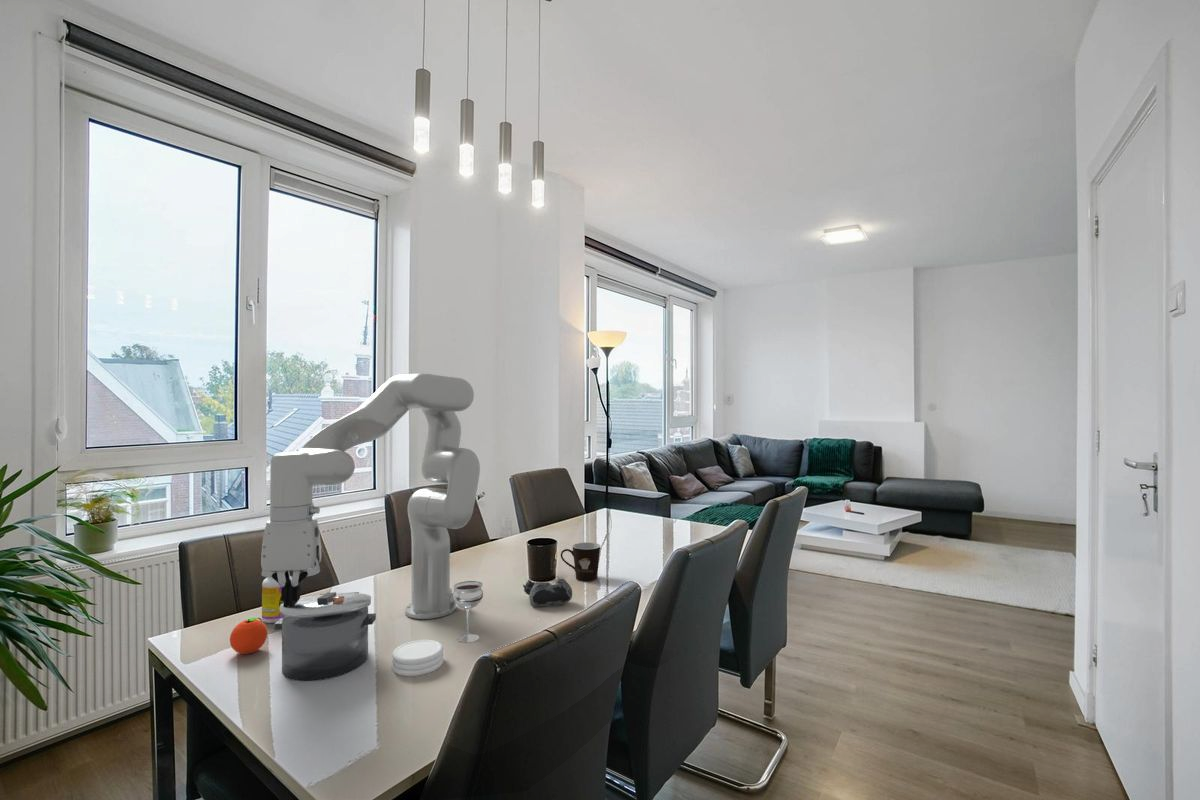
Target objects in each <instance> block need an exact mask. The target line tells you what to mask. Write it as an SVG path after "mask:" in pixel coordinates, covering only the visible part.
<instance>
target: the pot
mask: <svg viewBox="0 0 1200 800" xmlns="http://www.w3.org/2000/svg"><path fill="white" fill-rule="evenodd" d="M376 616H377V613H376V612H375V613H369V606H367V607H365V608H363V609H360V610H356V611H352V612H348V613H343V614H337V615H329V616H320V617H288V616H284V618H281V619H280V620H278V621H277V622H276V623H274V630H275V631H276V630H277V631H279V630H280V631H281V673H282V675H283V676H284V677H285V678H287V679H290V680H293V681H299V682H312V681H313V682H315V681H322V680H328V679H333V678H337V677H340V676H343V675H346V674H349V673H350V672H353V671H354V670H356V669H358V668H360V667H361V666H363V665H364V664H365V663H366V662H367V660H368V658H369V625H370V626H371V625H373V624H374V622H375V621H376V619H377V617H376Z"/></svg>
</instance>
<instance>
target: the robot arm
mask: <svg viewBox="0 0 1200 800" xmlns="http://www.w3.org/2000/svg"><path fill="white" fill-rule="evenodd" d="M474 397H475V393H474V389H473V387H472V385H471V383H469V382H468V381H467V380H466V379H464V378H461V377H453V376H447V375H446V376H444V375H438V374H431V373H424V372H423V373H419V372H418V373H402V374H401V373H400V374H396V375H394V376H392V377H390V378H389V379H387V381H385V382H384V383H383V384H382V385H381V386H380V387H379V388H378V389H377V390H376V391H375V392H374V393H373V394H372V395H371V396H370V397H369V398H368V399H366V400H365V401H364V402H363V403H362V404H361V405H360V406H359V407H358V408H356V409H354V411H352V412H350V413H348V414H346V415H344V416H342V417H341V418H339V419H338V420H336V421H334V422H332V423H330V424H329V425H327V426H325V427H324V428H322V429H321V430H319V431H318V432H317V433H315V434H314V435H313V436H312V437H311V438H310V439H309V440H307V441H306V442H305V443H304V444H303V445H302V446H301V447H300V448H299V449H298V451H287V452H286V451H284V452H277V453H275V454H273V455H272V457H271V458H270V471H269V472H270V481H269V489H270V490H269V491H270V493H269V501H270V502H269V520H267V521H266V524H265V528H264V532H263V537H262V543H261V554H260V555H261V557H260V558H261V559H260V564H261V565H260V566H261V576H262V577H264V578H267V577H269V578H273V579H274V580H275V581H276V582H278V583H279V586H280V587H281V601H283V606H284V607H287V606H289V607H292V606H294V605H295V604H296V603H297V602H298V600H299V599H300V598H301V583H302V582H303V581H304V580H305V579H306V578H308V577H311V576H315V575H318V574H319V573H320V572H321V569H320V568H321V567H320V563H321V561H322V544H321V534H320V532H321V531H320V528H319V527H320V526H319V522H318V518H317V517H314V516H315V515H317V514H319V513H320V509H321V508H320V507H319V506H315V505H314V503H313V490H314V489H313V487H314V486H317V485H319V486H321V485H322V486H323V485H324V486H335V485H336V486H337V485H340V484H343V483H345V482H346V481H348V480H349V479H350V478H352V475H353V474H354V472H355V468H356V464H355V461H354V458H353V457H352V456H351V455H350V454H349V453H348V452H347V450H349V449H351V448H354V447H356V446H359V445H362V444H365V443H369V442H372V441H374V440H377V439H380V438H382V437H384V436H385V435H387V433H389V431H390V430H391V429H392V428H393V427H394V426H395V425H396V424H397V423H398V422H399V421H400V420H401V418H403V417H404V416H405V414H407V413H408V411H410V410H412V409H421V411H422V412H423V414H424V416H425V418H426V421H427V426H428V428H427V429H428V431H427V437H426V441H425V446H424V447H425V448H424V451H423V458H422V463H421V474H422V476H423V478H424V479H425V480H426V481H428V482H431V483H434V484H435V483H436V484H444V485H445V484H446V485H447V489H445V488H438V487H423V488H419V489H418V490H417V489H416V491H415V492H414V493H412V494H411V495H410V497H409V499H408V503H407V516H408V517H407V518H408V521H409V526H410V534H411V602H410V603H409V604H408V605H407V606H406V607H405V608H404V613H405V615H406V616H407V617H408V618H411V619H417V620H429V619H432V620H433V619H438V618H443V617H445V616H448V615H450V614H452V613H454V611H455V610H456V609H457V604H456V603H455V602H454V600H453V589H452V588H451V578H450V577H451V572H450V571H451V569H450V568H451V558H450V557H451V556H450V555H451V540H450V535H449V530H448V529H450V530H452V529H453V530H458V529H461V528H464V527H465V526H466V525H467V524H469V521H470V520H471V518H472V515H473V512H474V507H475V503H476V497H477V492H478V485H479V480H480V472H481V466H480V465H481V464H480V460H479V457H478V456H477V454H476V453H475V451H473V450H471V449H469V448H466V447H465V448H464V447H460V445H461V444H460V442H461V435H462V425H461V422H460V420H459V417H458V416H457V414H456V412H463V411H465V410H467V409H469V408H470V407H471V405H472V403H473V401H474ZM290 572H292V576H291V573H290ZM290 576H291V577H292V582H291V579H290Z"/></svg>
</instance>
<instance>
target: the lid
mask: <svg viewBox="0 0 1200 800" xmlns="http://www.w3.org/2000/svg"><path fill="white" fill-rule="evenodd" d="M371 604H372V596H371V595H370V594H366V593H361V592H357V591H356V592H336V591H333V592H326V593H320V594H317V595H310V596H303V597H300V599H299V600H298V602H297V603H296V604H295V605H294V606H292V607H289V606H287V607H284V606H283V604H281V605H280V612H279V613H280V614H281V615H283V616H288V617H320V616H329V615H337V614H343V613H348V612H352V611H356V610H360V609H363V608H365V607H367V606H368V607H369V606H370V605H371Z"/></svg>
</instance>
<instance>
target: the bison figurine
mask: <svg viewBox="0 0 1200 800" xmlns="http://www.w3.org/2000/svg"><path fill="white" fill-rule="evenodd" d="M522 586H523V592H524V593H525V594H527V595H528V598H529V604H530V606H531V607H534V608H543V607H555V606H559V605H562V604H565V603H567V602H569V601H571V600H572V597H573V589H572V586H571V585H570V584H569V582H567V580H566V579H564V578H557V579H556V580H555V583H554V584H551V583H550V582H545V581H544V582H542V581H531V580H530V579H528V580H527V581H526V583H525V584H524V583H523V585H522Z"/></svg>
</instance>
